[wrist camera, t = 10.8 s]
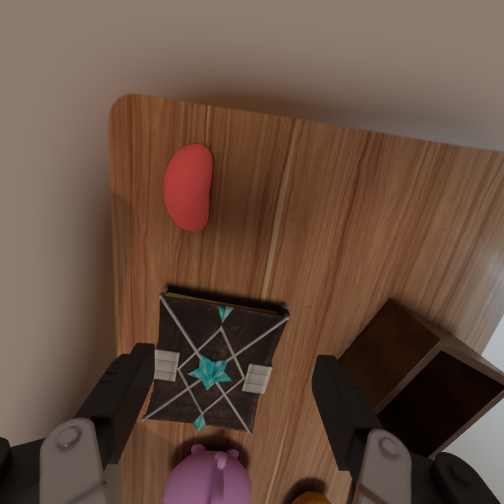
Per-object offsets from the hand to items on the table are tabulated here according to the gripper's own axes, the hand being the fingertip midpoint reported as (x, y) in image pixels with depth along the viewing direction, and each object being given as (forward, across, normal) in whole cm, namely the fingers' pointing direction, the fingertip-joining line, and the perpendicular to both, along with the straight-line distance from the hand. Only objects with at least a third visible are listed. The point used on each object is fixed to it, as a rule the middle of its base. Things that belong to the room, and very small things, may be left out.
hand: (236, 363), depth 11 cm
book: (+20, +2, +17) cm, 26 cm away
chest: (+20, -25, +15) cm, 35 cm away
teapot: (+20, +1, +42) cm, 47 cm away
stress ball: (+20, +6, -7) cm, 22 cm away
